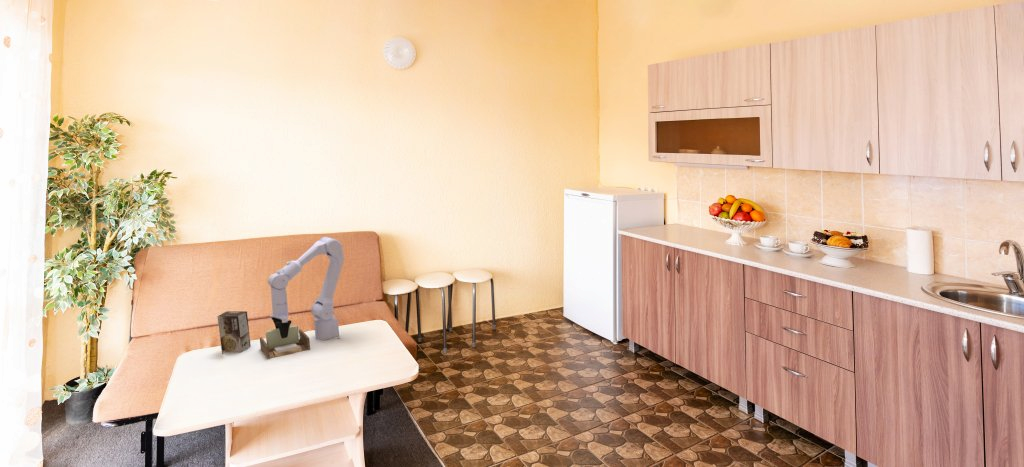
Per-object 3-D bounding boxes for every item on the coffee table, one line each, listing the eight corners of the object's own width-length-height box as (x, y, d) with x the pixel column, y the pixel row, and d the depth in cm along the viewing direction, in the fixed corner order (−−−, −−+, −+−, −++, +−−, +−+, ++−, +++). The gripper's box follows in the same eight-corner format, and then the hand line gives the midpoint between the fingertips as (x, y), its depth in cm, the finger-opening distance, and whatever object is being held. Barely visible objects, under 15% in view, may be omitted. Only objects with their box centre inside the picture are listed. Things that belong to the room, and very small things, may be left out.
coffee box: (251, 348, 219) (248, 311, 216) (242, 354, 212) (238, 316, 210) (230, 348, 220) (226, 310, 217) (221, 354, 213) (216, 315, 211)
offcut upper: (295, 346, 215) (295, 343, 214) (297, 348, 212) (297, 345, 212) (274, 350, 210) (274, 347, 210) (276, 353, 207) (276, 350, 207)
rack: (301, 342, 225) (300, 329, 224) (310, 351, 214) (309, 337, 213) (261, 351, 215) (259, 337, 214) (267, 361, 205) (266, 346, 204)
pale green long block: (298, 343, 221) (296, 324, 220) (299, 344, 220) (297, 326, 218) (267, 349, 214) (265, 330, 213) (268, 351, 213) (266, 332, 211)
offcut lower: (299, 347, 216) (299, 345, 216) (302, 350, 213) (301, 348, 212) (273, 353, 210) (272, 350, 210) (275, 356, 207) (275, 353, 207)
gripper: (265, 300, 218) (268, 332, 220) (272, 308, 206) (275, 342, 208) (283, 297, 222) (286, 328, 224) (292, 305, 210) (294, 338, 212)
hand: (282, 335), depth 216 cm, fingers open, 7 cm apart
